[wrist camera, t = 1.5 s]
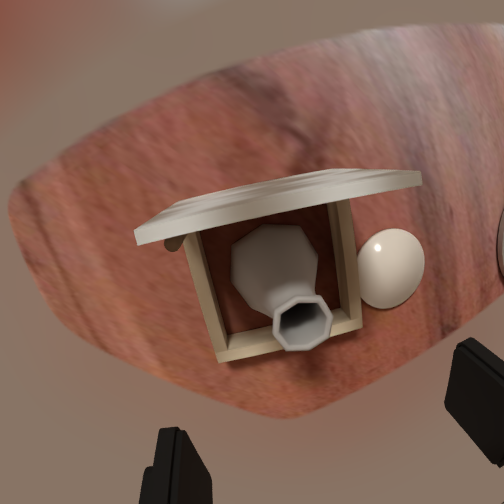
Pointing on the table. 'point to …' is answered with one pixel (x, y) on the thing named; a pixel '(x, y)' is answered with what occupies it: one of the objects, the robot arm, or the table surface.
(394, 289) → the white domed disc
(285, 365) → the table surface
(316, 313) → the flask
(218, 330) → the open-lid wooden box
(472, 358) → the robot arm
